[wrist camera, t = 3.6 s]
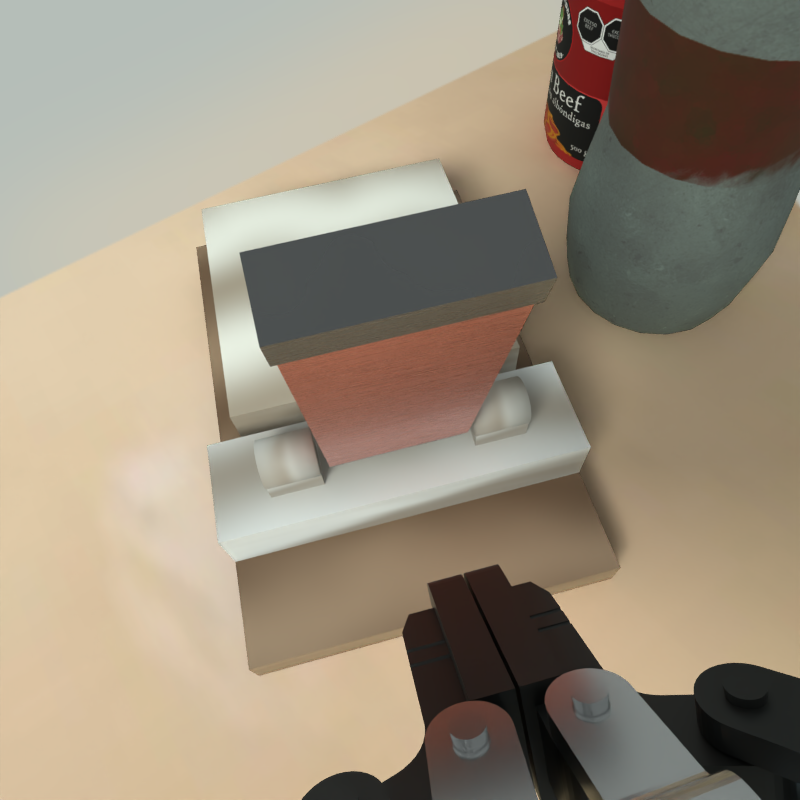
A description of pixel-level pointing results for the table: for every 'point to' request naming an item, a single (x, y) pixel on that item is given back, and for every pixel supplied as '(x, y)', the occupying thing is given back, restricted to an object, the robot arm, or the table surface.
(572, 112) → the canned food
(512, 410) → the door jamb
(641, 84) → the bottle
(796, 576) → the table surface
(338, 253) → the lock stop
